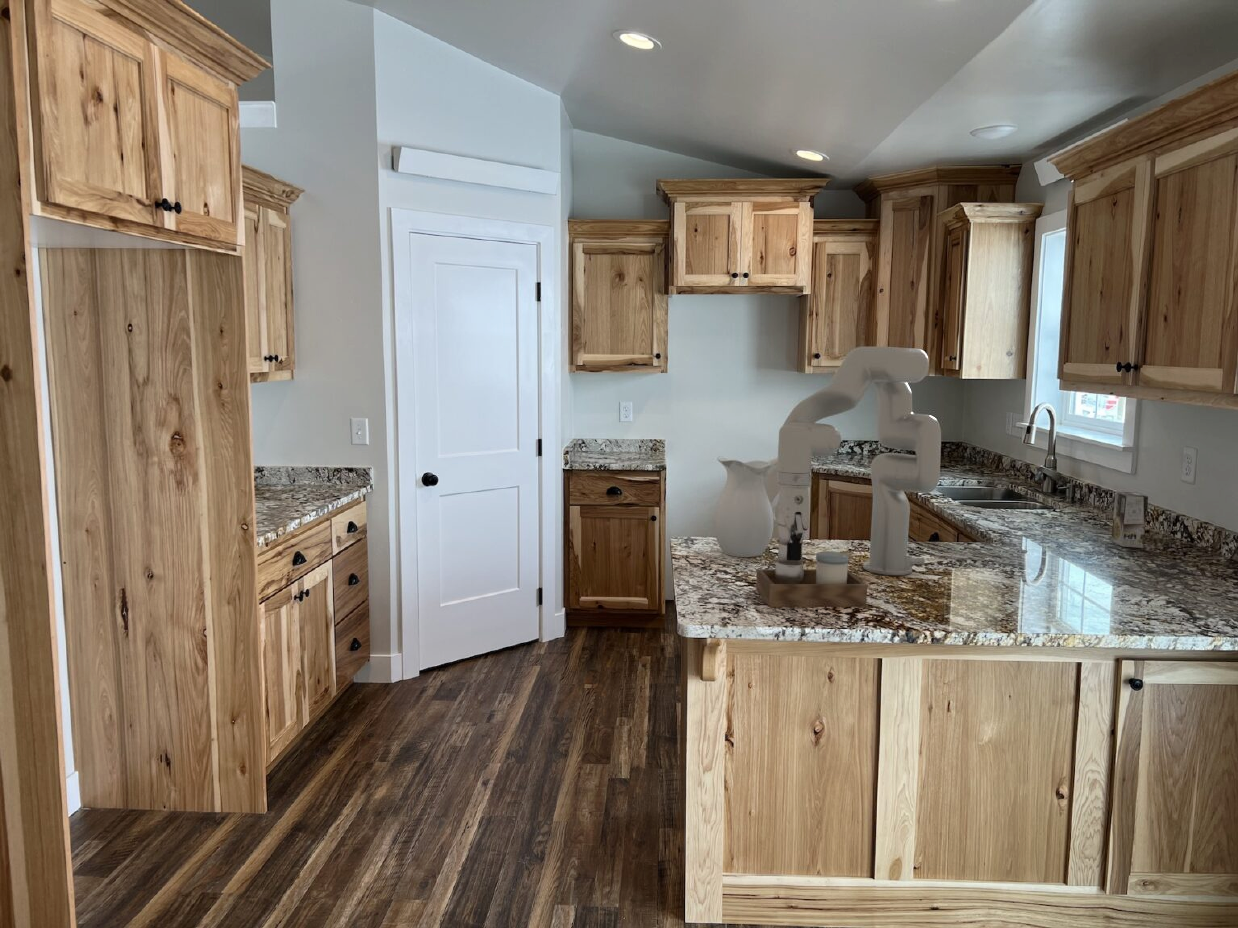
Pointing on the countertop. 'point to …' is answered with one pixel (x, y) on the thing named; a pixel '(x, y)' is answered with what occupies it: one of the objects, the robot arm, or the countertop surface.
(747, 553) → the pitcher
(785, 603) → the crate
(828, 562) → the jar
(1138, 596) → the countertop surface
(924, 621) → the countertop surface
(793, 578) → the grey metal bottle
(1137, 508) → the coffee box
